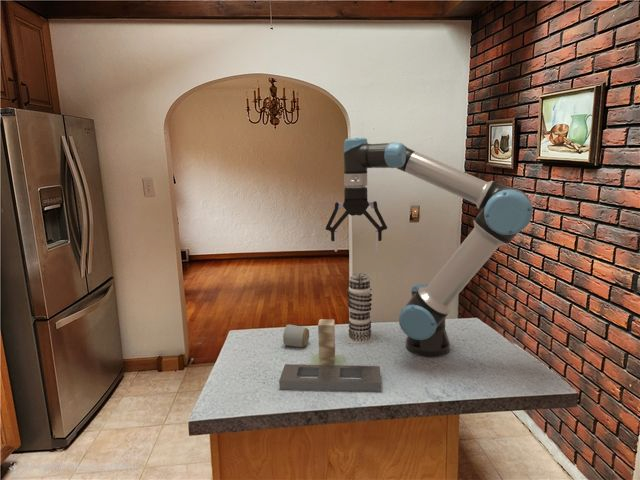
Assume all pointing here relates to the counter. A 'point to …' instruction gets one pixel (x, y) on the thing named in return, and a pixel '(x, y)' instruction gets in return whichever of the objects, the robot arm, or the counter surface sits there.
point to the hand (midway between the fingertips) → (356, 250)
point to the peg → (326, 341)
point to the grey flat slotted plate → (331, 378)
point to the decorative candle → (359, 308)
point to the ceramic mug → (295, 336)
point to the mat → (338, 359)
